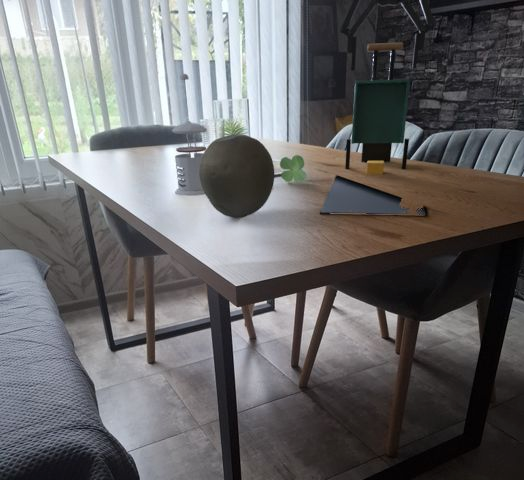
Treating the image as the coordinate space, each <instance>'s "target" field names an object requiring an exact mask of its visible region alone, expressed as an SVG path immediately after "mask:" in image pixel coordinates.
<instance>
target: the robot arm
mask: <svg viewBox="0 0 524 480" xmlns="http://www.w3.org/2000/svg"><path fill="white" fill-rule="evenodd" d="M360 2H361V0H352V1H351V4H350V6H349V8H348V11H347V13H346V15H345V17H344V20H343V22H342V24H341V26H340V29H339V32H340V34H342V35H345V36H346V37H347V45H346V47H347V48H346V52H347V54H348V55H349V54H350V55H351V67H350V71H356V61H357V60H356V59H357V58H356V57H357V45H358V44H357V42H358V41H357V40H358V36H355V34H356V33H357V32H358V31H359V29H360V27H361V26H362V25H363V24H364V22H365V21H366V19H368V17H369V16H370V14H371V13H372V11H373V10H374V9H375V8H376V7H377V5H378V6H380V7H387V6H391V7H396V6H397V5H399V4H400V5H401V7H402V8H403V9H404V11H405V12H406V14H407V15H408V17H409V18H410V20H411V22H412V23H413V25H414V26H415V28H416V29H417V31H418V32H419V33H415V36H414V46H413V56H412V65H411V69H417V65H418V64H417V63H418V54H419V52H420V51H421V52H422V51H423V50H424V49H425V40H426V34H427V32H429V31H431V30H434V28H436V23H435V20H434V17H433V13H432V11H431V7H430V4H429V1H428V0H419V3H420V6H421V9H422V13H423V16H424V18H425V22H426V24H424V23H423V21H422V20H421V18H420V17H419V15H418V13H417V12H416V10H415V9H414V7H413V6H412V4H411V2H410V1H409V0H370V1H369V2H368V4H367V5H366V7H365V8H364V10H363V11H362V12H361V13H360V15H359V17H358V18H357V19H356V21H355V22H354V23H353V24H352V26H351V27H350V24H351V21H352V20H353V18H354V15H355V14H356V11H357V9H358V6H359V4H360ZM349 27H350V28H349Z"/></svg>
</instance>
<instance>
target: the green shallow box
mask: <svg viewBox="0 0 524 480" xmlns="http://www.w3.org/2000/svg"><path fill="white" fill-rule="evenodd" d="M403 46H404V42H402V41H401V42H400V41H399V42H382V43H381V42H380V43H378V42H377V43H368V44H367V53H373V56H372V57H373V59H372V73H371V80H367V79H366V80H355V81H354V94H353V95H354V96H353V109H352V110H353V111H352V127H351V145H352V144H353V145H354V144H363V143H392V144H404V141H405V134H406V133H405V132H406V125H407V124H406V121H407V113H408V112H407V111H408V102H409V92H410V83H411V79H410V78H405V79H403V78H400V79H394V72H395V62H396V61H395V60H396V52H397V51H403ZM379 52H390V59H389V70H388V79H377V73H378V61H379Z"/></svg>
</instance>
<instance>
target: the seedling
mask: <svg viewBox="0 0 524 480" xmlns="http://www.w3.org/2000/svg"><path fill="white" fill-rule="evenodd" d="M279 166H280V169H282V170H283V171H282V172H281V174H280V175H281V178H282V180H284V181H285V182H287V183H291V182H292V181H294V182H295V183H301V182H303V181H305V180H306V179H307V175H308V174H307V173H306V171H305V170H303V168H304V167H305V160H304V158H303V156H301V155H299V154H295V155H293V156H292V158H289V157H287V156H284V157H282V158H281V159H280V160H279Z"/></svg>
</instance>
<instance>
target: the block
mask: <svg viewBox="0 0 524 480" xmlns="http://www.w3.org/2000/svg"><path fill="white" fill-rule="evenodd" d="M384 166H385V162H384V161H368V162H366V175H384Z"/></svg>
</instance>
